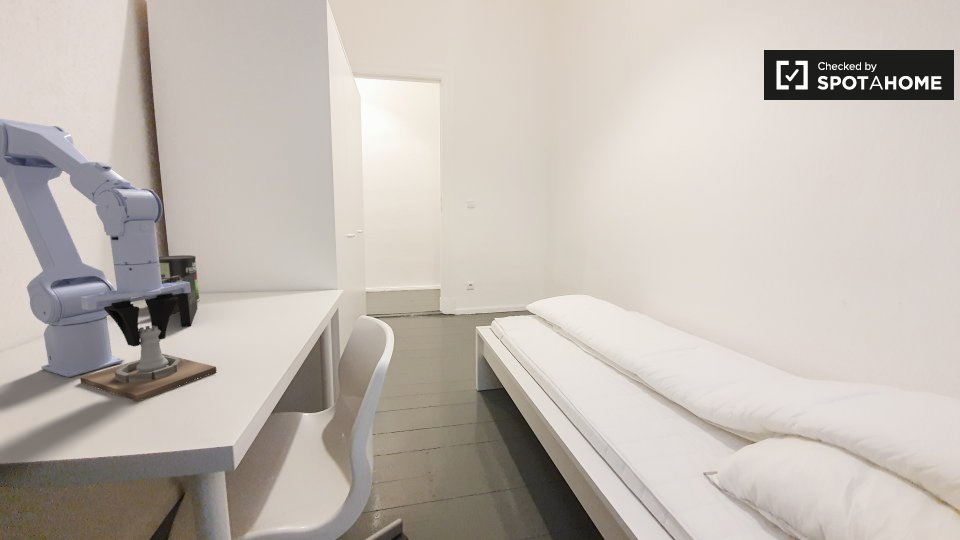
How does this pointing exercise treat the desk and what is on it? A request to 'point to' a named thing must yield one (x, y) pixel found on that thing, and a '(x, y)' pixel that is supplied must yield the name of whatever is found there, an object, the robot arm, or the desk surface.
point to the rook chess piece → (150, 350)
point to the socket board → (147, 378)
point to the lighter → (173, 280)
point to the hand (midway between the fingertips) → (146, 341)
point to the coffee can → (179, 268)
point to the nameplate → (188, 303)
